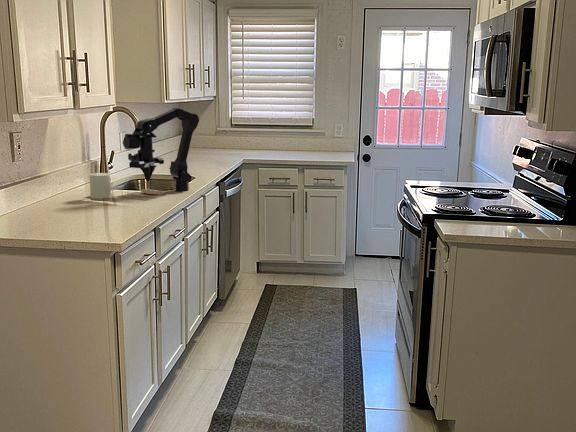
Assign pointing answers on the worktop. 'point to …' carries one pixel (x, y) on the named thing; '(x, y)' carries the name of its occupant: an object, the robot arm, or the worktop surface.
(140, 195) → the board
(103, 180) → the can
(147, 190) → the tile
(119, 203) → the worktop surface
